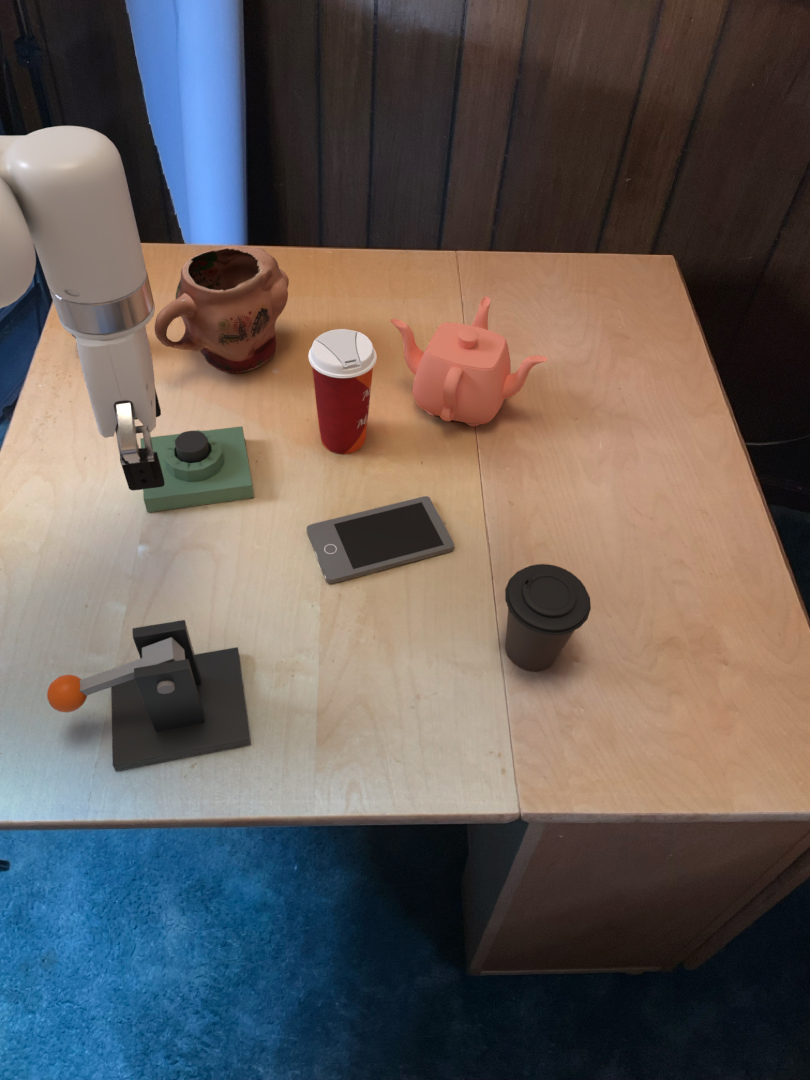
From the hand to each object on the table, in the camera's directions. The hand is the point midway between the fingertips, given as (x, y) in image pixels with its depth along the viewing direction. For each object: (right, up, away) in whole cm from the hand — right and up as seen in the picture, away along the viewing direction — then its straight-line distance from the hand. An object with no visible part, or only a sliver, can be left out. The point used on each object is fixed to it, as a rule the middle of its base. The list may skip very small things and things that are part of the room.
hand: (146, 450), depth 78 cm
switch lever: (0, -21, -7) cm, 23 cm away
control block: (0, -1, +17) cm, 17 cm away
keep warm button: (+1, +1, +15) cm, 15 cm away
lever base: (+4, -25, -2) cm, 25 cm away
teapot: (+33, +10, +29) cm, 45 cm away
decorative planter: (+1, +16, +31) cm, 35 cm away
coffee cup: (+38, -20, +5) cm, 43 cm away
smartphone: (+22, -9, +12) cm, 27 cm away
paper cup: (+17, +4, +23) cm, 29 cm away
